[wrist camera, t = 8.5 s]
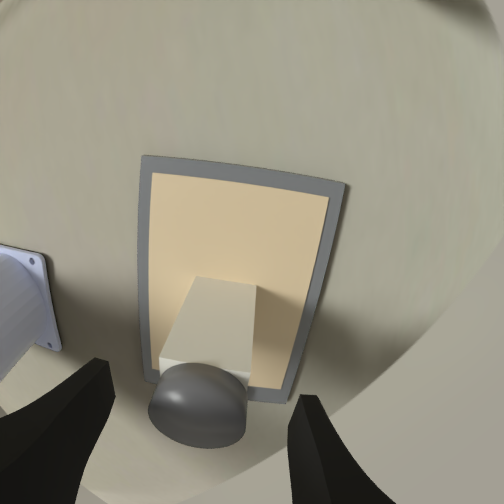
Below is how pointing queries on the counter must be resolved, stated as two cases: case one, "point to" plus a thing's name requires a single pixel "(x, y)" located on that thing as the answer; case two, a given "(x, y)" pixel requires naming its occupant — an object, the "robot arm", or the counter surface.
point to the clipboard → (235, 254)
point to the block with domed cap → (207, 366)
